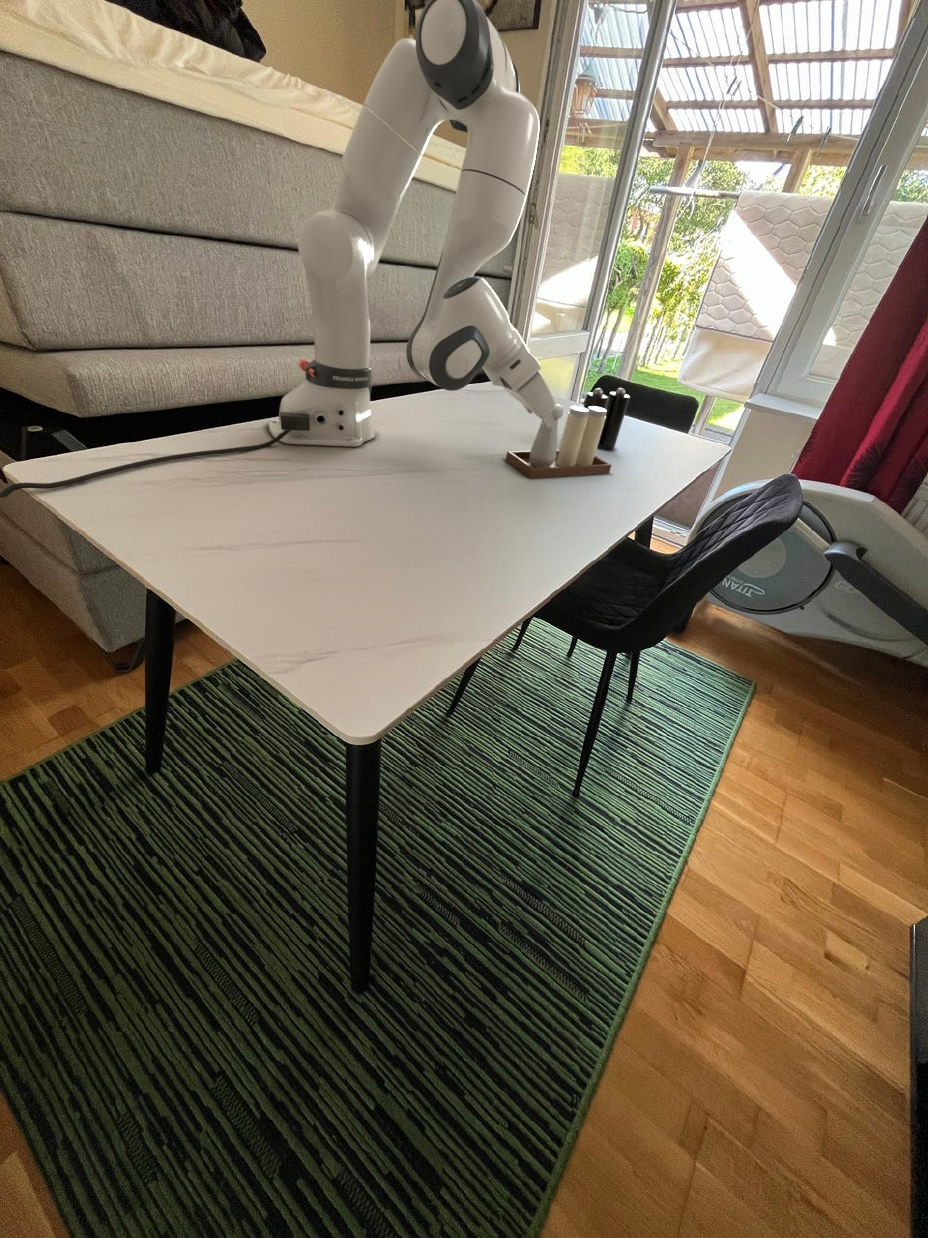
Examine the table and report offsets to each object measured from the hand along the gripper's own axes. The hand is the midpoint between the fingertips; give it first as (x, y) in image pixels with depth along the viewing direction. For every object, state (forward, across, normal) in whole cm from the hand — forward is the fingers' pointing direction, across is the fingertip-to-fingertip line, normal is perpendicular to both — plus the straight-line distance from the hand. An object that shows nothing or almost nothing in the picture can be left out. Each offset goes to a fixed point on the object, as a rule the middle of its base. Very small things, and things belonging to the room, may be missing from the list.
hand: (541, 417), depth 107 cm
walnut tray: (+13, -1, -2) cm, 13 cm away
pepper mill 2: (+27, -16, +12) cm, 34 cm away
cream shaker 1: (+14, -1, -1) cm, 14 cm away
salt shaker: (+9, 0, -6) cm, 11 cm away
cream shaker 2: (+18, -2, +2) cm, 18 cm away
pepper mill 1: (+22, -13, +7) cm, 26 cm away
